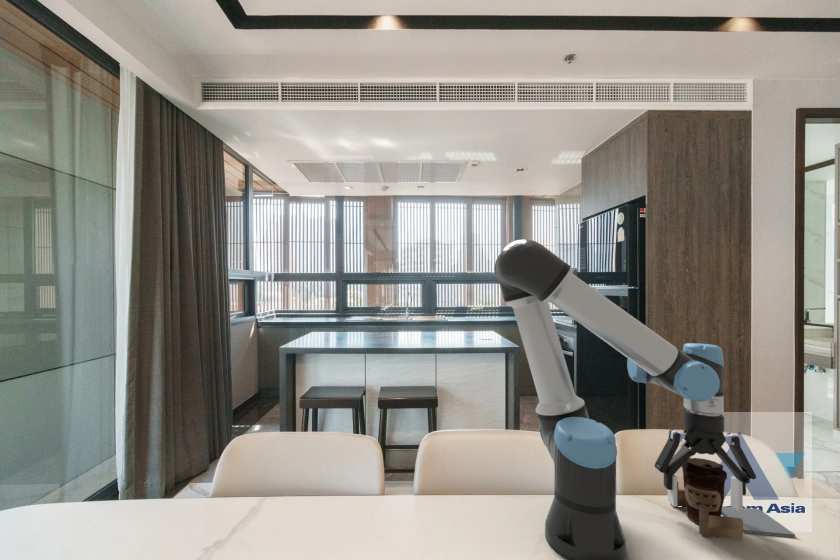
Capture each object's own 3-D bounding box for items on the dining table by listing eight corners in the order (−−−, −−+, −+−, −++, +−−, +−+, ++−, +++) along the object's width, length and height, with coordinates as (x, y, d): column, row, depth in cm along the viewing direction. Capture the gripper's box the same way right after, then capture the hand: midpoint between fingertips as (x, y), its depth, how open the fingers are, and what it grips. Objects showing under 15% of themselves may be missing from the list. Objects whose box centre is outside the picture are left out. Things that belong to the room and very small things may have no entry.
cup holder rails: (702, 536, 82) (702, 507, 82) (670, 504, 94) (670, 479, 95) (743, 540, 81) (743, 510, 81) (705, 507, 93) (705, 482, 94)
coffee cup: (728, 537, 82) (727, 474, 82) (680, 522, 87) (680, 463, 87) (727, 519, 88) (726, 461, 89) (683, 506, 93) (683, 452, 94)
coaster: (744, 532, 83) (744, 529, 83) (714, 507, 93) (714, 505, 93) (795, 537, 82) (795, 534, 82) (759, 511, 92) (759, 509, 92)
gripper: (653, 413, 86) (654, 510, 85) (776, 419, 84) (777, 520, 82) (638, 404, 94) (638, 493, 93) (750, 410, 91) (751, 502, 90)
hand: (704, 506), depth 88 cm, fingers open, 13 cm apart
